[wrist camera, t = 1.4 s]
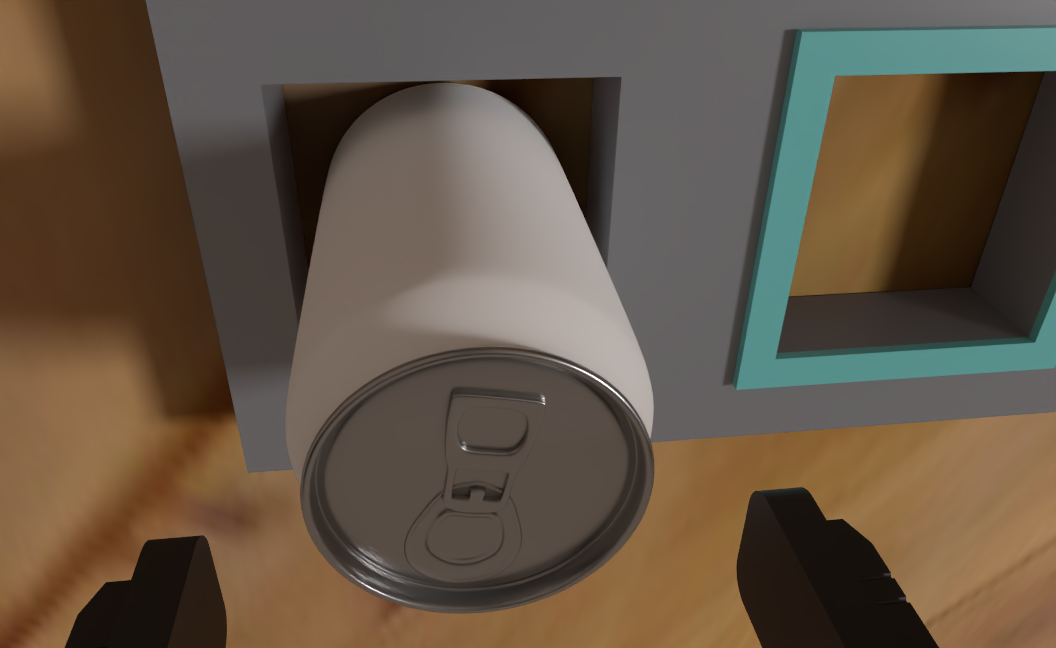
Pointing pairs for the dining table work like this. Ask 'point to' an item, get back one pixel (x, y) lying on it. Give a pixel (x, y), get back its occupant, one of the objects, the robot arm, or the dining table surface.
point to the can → (463, 365)
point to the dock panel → (647, 192)
